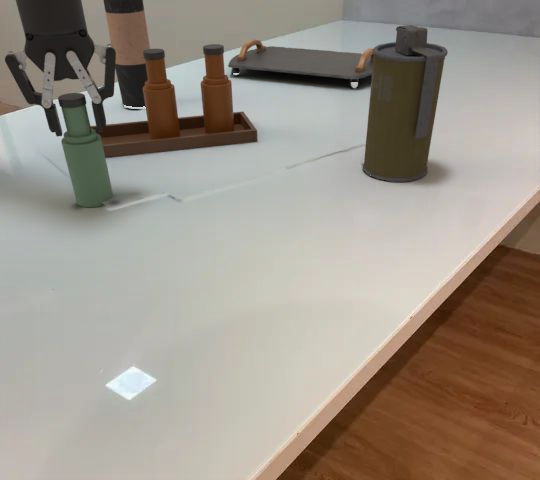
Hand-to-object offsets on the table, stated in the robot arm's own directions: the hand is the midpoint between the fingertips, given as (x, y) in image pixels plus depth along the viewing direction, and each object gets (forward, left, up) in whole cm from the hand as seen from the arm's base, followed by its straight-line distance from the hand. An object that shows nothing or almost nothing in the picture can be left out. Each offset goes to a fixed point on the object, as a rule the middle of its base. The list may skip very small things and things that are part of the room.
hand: (79, 132), depth 77 cm
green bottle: (0, 0, -10) cm, 10 cm away
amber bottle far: (+29, +11, -9) cm, 33 cm away
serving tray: (+72, +38, -10) cm, 82 cm away
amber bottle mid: (+20, +15, -9) cm, 27 cm away
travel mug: (+27, +40, -10) cm, 49 cm away
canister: (+43, -20, -10) cm, 49 cm away
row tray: (+20, +15, -10) cm, 27 cm away
